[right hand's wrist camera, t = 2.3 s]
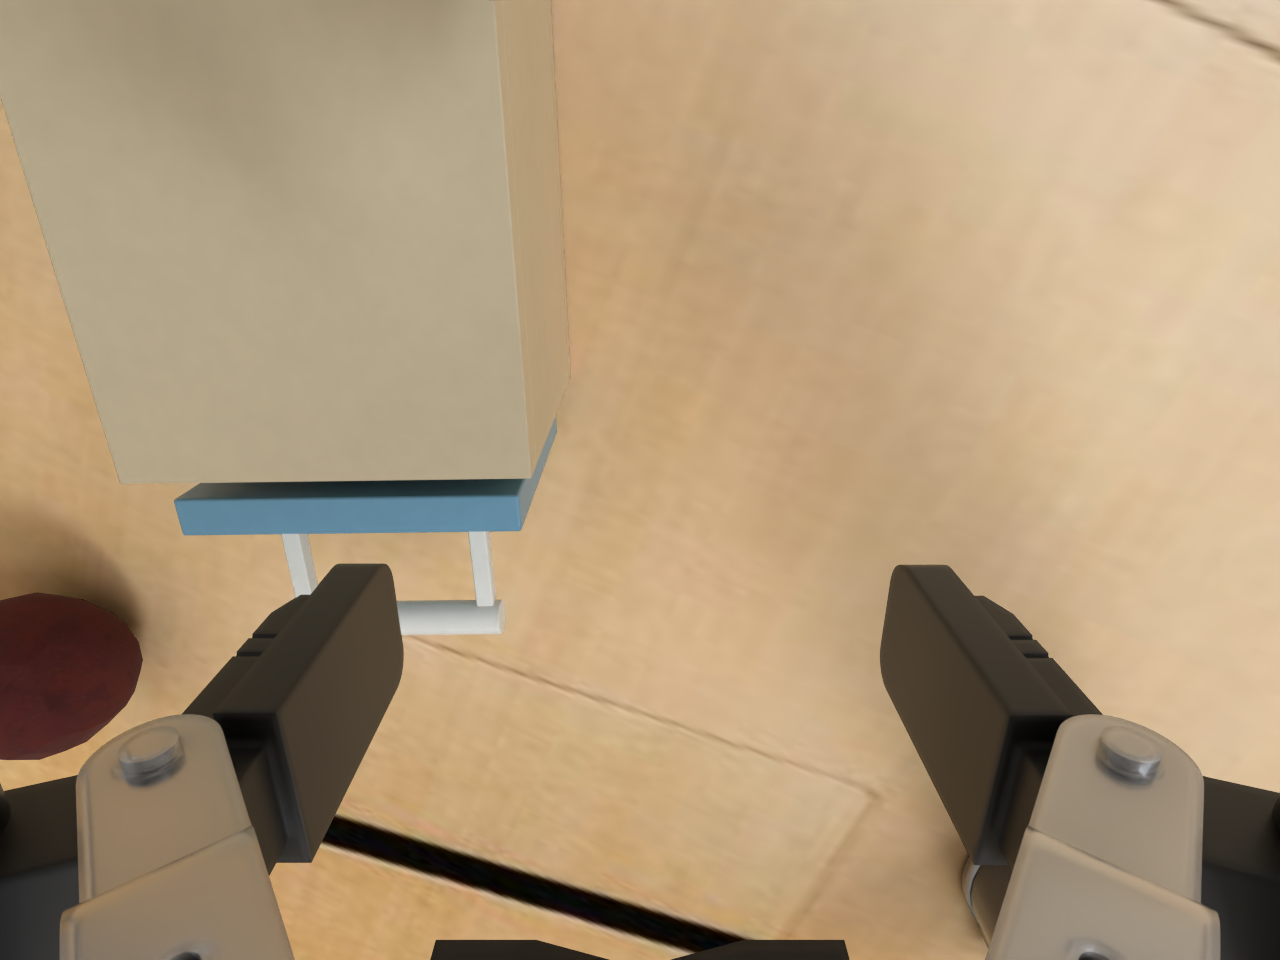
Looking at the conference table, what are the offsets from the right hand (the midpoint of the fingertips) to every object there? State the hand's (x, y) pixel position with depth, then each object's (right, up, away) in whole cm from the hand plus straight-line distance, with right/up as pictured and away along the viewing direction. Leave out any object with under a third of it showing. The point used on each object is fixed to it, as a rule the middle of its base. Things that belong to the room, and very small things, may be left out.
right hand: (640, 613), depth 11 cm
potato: (-27, -5, +24) cm, 36 cm away
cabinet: (-9, +13, +16) cm, 23 cm away
